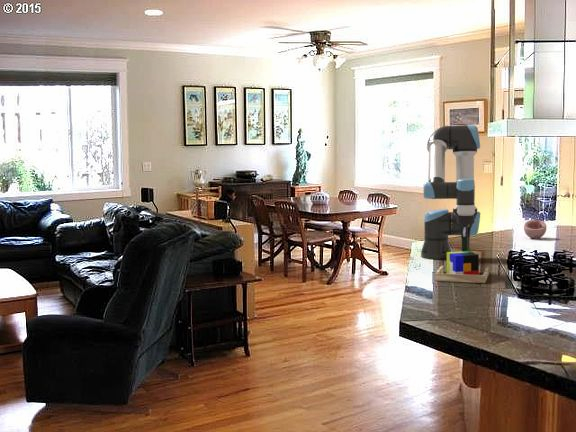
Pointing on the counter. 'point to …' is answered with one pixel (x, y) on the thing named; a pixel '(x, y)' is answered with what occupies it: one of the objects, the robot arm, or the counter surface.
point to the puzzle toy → (462, 263)
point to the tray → (461, 276)
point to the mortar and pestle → (535, 228)
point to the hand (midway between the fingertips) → (465, 267)
